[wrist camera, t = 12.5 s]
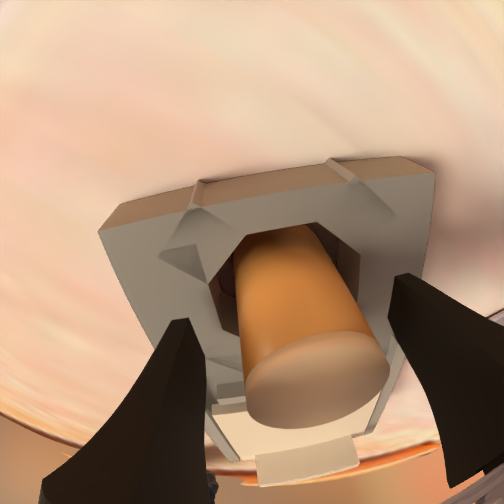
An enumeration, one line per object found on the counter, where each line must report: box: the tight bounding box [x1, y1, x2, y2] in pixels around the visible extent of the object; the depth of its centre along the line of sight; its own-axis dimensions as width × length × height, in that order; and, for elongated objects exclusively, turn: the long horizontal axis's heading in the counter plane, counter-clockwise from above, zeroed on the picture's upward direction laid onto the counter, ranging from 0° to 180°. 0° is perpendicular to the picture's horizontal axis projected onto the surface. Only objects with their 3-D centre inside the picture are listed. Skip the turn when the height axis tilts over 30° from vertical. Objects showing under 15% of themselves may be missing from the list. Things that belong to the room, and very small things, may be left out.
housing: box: [98, 156, 435, 462], centre depth 14 cm, size 12×20×3 cm, turn 9°
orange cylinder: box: [233, 224, 390, 429], centre depth 10 cm, size 4×4×7 cm
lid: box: [212, 391, 381, 487], centre depth 14 cm, size 9×8×3 cm
